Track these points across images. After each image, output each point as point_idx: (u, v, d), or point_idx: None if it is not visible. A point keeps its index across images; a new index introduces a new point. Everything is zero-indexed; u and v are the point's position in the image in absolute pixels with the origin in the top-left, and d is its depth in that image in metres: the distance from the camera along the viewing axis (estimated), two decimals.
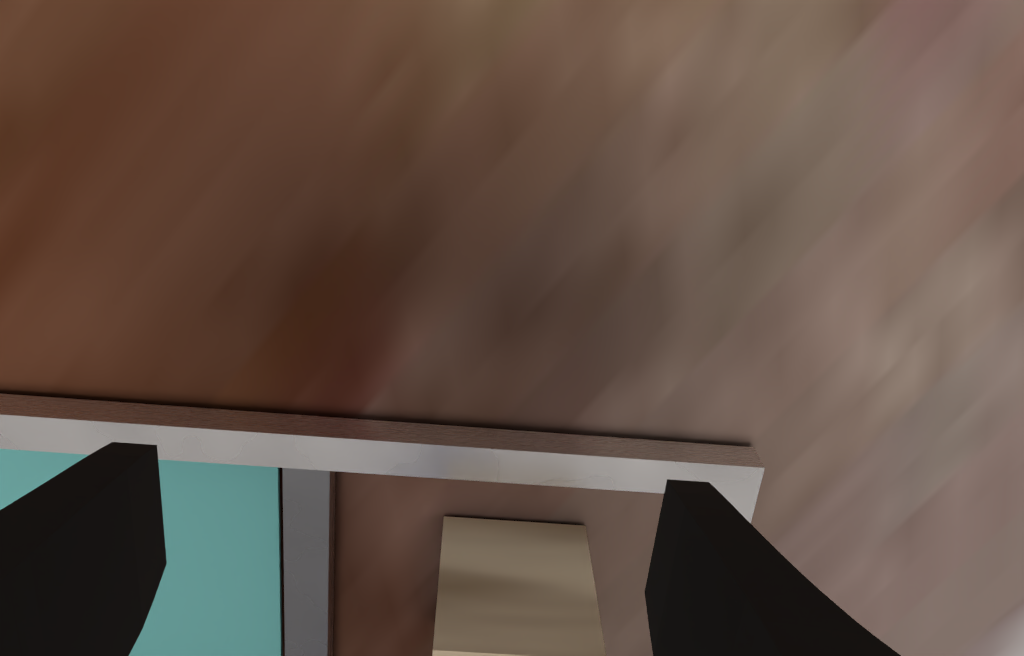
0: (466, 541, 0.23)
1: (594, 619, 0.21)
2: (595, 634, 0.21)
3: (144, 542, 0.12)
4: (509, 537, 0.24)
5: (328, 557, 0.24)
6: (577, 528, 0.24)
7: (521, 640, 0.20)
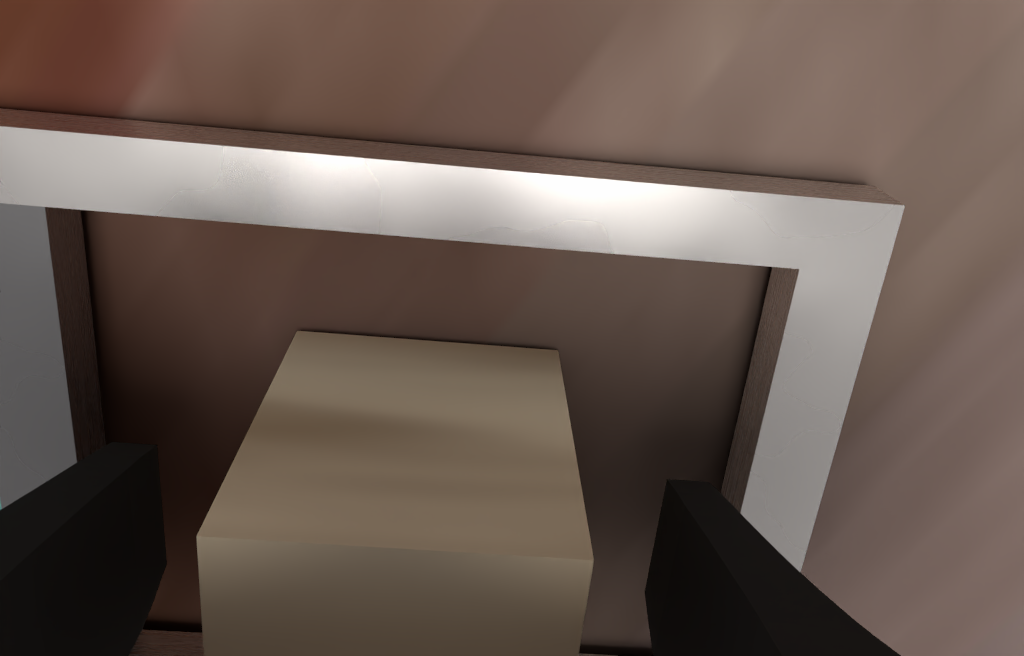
0: (329, 363, 0.12)
1: (569, 487, 0.10)
2: (570, 513, 0.10)
3: (144, 542, 0.12)
4: (414, 361, 0.13)
5: (70, 396, 0.12)
6: (544, 354, 0.13)
7: (405, 520, 0.09)
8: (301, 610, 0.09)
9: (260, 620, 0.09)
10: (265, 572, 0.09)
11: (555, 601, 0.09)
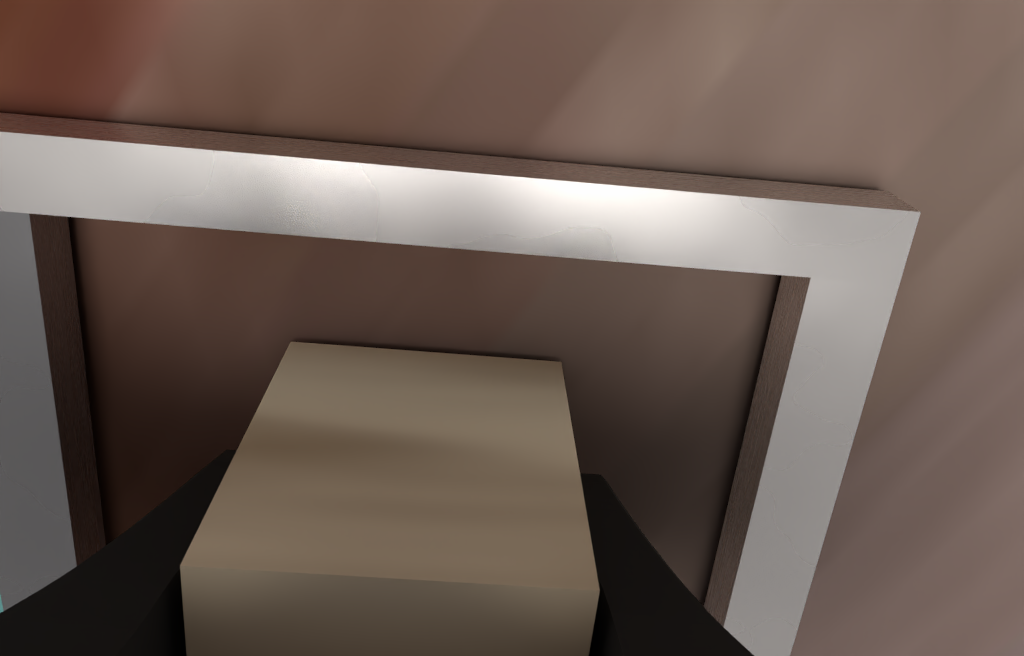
0: (323, 376, 0.12)
1: (571, 510, 0.10)
2: (574, 538, 0.09)
3: None
4: (411, 374, 0.12)
5: (56, 408, 0.12)
6: (546, 365, 0.13)
7: (401, 547, 0.09)
8: (291, 643, 0.09)
9: (248, 651, 0.09)
10: (254, 602, 0.08)
11: (559, 633, 0.09)
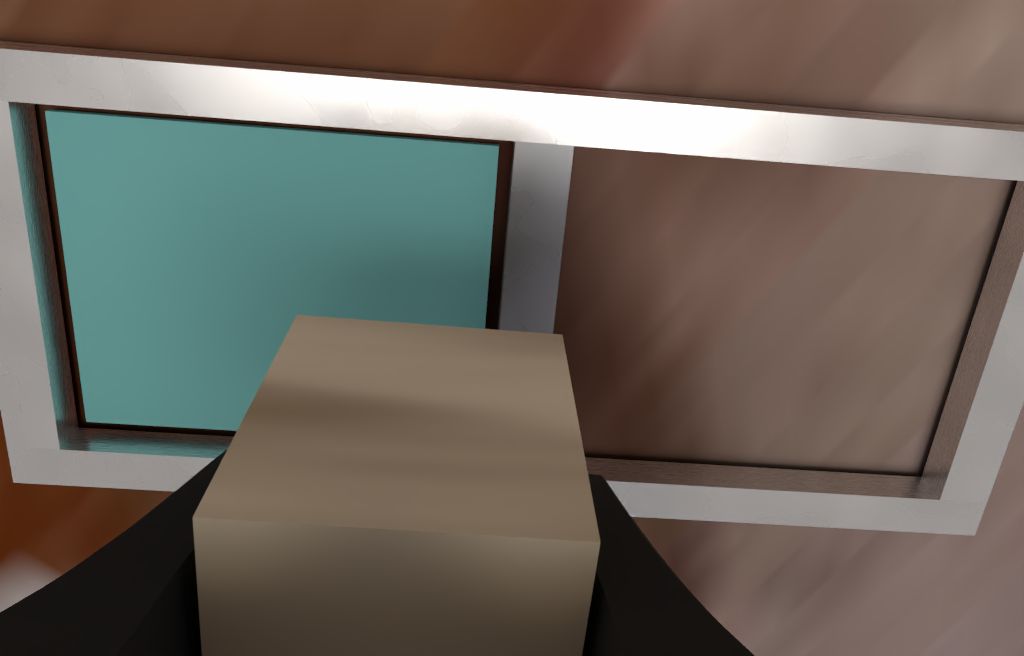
0: (329, 346, 0.12)
1: (573, 470, 0.10)
2: (575, 495, 0.09)
3: None
4: (415, 345, 0.12)
5: (558, 274, 0.19)
6: (548, 337, 0.13)
7: (407, 502, 0.09)
8: (300, 595, 0.09)
9: (258, 603, 0.09)
10: (264, 554, 0.09)
11: (561, 584, 0.09)
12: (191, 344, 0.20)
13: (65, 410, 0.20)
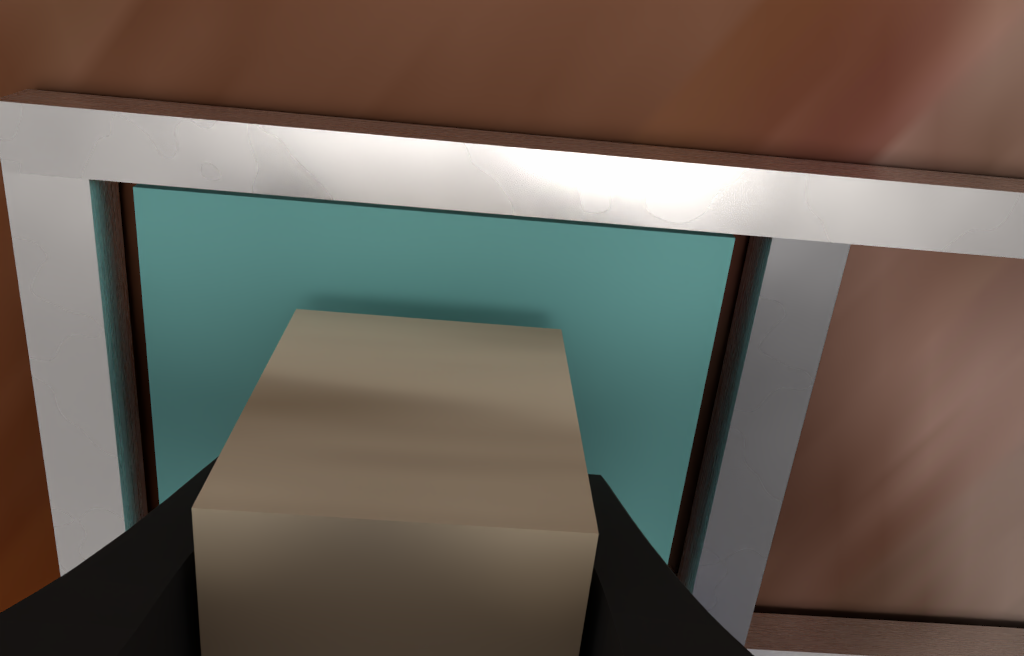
0: (328, 340, 0.12)
1: (572, 462, 0.10)
2: (574, 487, 0.09)
3: None
4: (414, 339, 0.12)
5: (805, 405, 0.14)
6: (547, 332, 0.13)
7: (405, 494, 0.09)
8: (299, 586, 0.09)
9: (257, 594, 0.09)
10: (262, 544, 0.09)
11: (558, 576, 0.09)
12: None
13: None
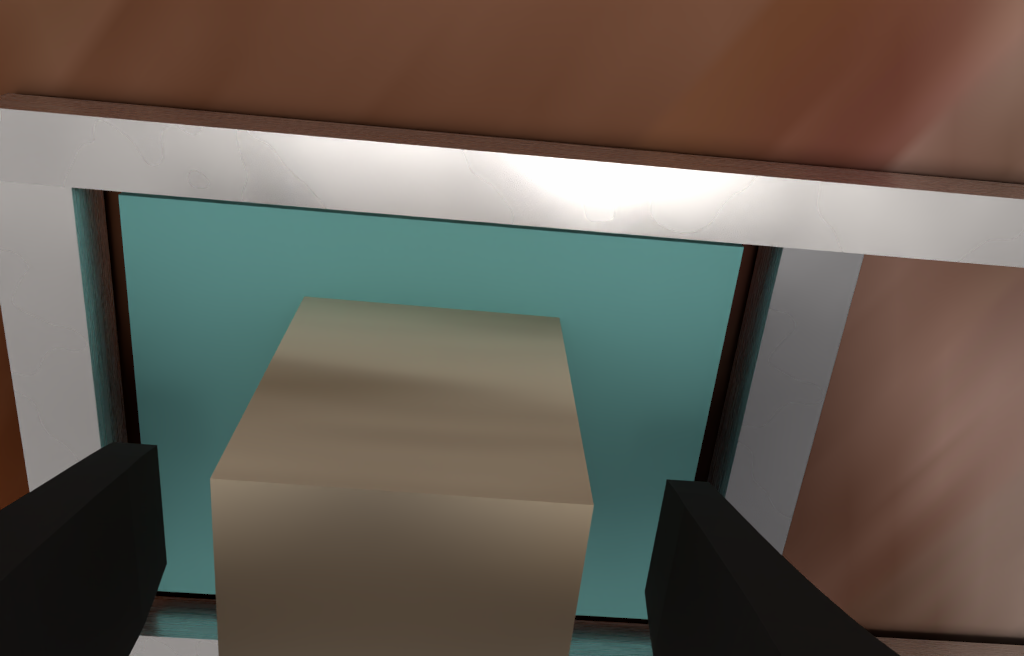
0: (335, 325, 0.13)
1: (569, 440, 0.10)
2: (570, 463, 0.10)
3: (144, 542, 0.12)
4: (418, 325, 0.13)
5: (815, 420, 0.14)
6: (545, 320, 0.14)
7: (412, 467, 0.10)
8: (309, 554, 0.09)
9: (270, 562, 0.09)
10: (276, 513, 0.09)
11: (556, 546, 0.09)
12: None
13: None
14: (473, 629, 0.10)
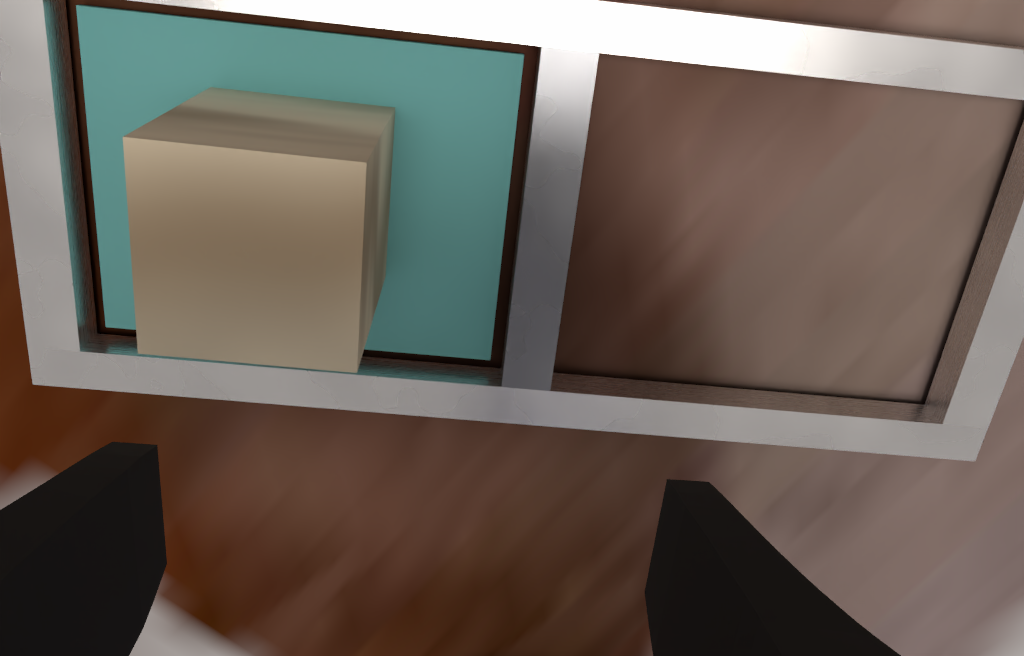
0: (228, 98, 0.18)
1: (366, 144, 0.16)
2: (362, 151, 0.15)
3: (144, 542, 0.12)
4: (288, 102, 0.18)
5: (579, 184, 0.19)
6: (384, 107, 0.19)
7: (255, 144, 0.15)
8: (188, 195, 0.15)
9: (163, 200, 0.15)
10: (165, 164, 0.15)
11: (345, 192, 0.15)
12: None
13: (86, 313, 0.21)
14: (297, 256, 0.15)
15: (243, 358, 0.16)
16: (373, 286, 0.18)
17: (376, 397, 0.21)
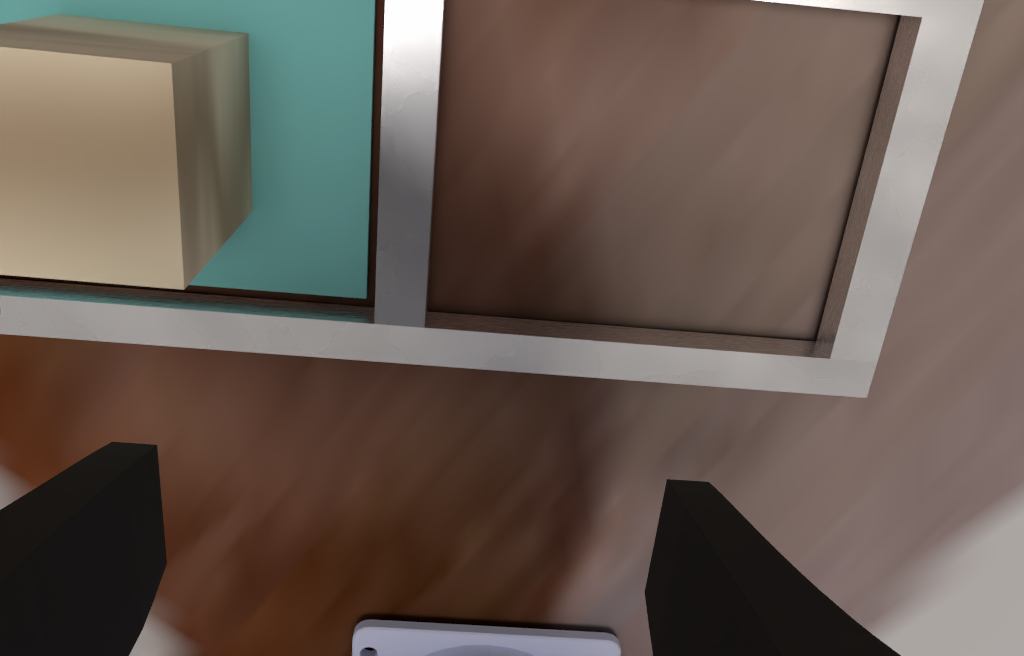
0: (68, 21, 0.18)
1: (186, 53, 0.15)
2: (176, 56, 0.15)
3: (144, 542, 0.12)
4: (133, 26, 0.18)
5: (436, 109, 0.19)
6: (235, 32, 0.19)
7: (61, 48, 0.15)
8: None
9: None
10: None
11: (152, 96, 0.14)
12: None
13: None
14: (110, 165, 0.15)
15: (66, 275, 0.16)
16: (218, 210, 0.18)
17: (247, 336, 0.21)
